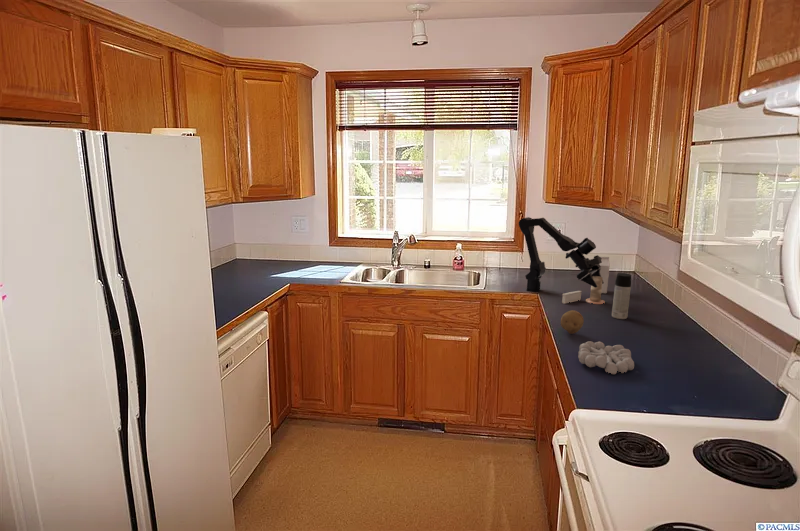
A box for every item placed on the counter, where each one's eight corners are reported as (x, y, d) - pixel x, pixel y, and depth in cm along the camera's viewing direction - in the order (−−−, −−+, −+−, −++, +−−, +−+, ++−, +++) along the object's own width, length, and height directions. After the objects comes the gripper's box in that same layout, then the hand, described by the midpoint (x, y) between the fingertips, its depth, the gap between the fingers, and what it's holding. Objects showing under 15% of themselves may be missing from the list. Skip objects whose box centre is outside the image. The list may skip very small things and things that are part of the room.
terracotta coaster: (586, 303, 264) (586, 302, 264) (585, 298, 272) (585, 297, 272) (605, 305, 261) (605, 303, 261) (604, 300, 270) (604, 299, 270)
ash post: (592, 302, 264) (594, 278, 262) (588, 299, 269) (590, 276, 267) (602, 302, 264) (604, 278, 262) (598, 299, 269) (600, 276, 267)
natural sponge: (576, 339, 213) (578, 315, 211) (555, 334, 219) (557, 310, 217) (585, 334, 220) (588, 310, 218) (565, 328, 226) (567, 306, 224)
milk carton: (606, 293, 283) (610, 258, 278) (592, 292, 284) (596, 257, 280) (604, 290, 289) (608, 255, 285) (590, 289, 291) (594, 255, 287)
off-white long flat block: (564, 303, 263) (565, 294, 262) (561, 302, 264) (562, 293, 263) (580, 300, 269) (581, 291, 268) (577, 299, 271) (578, 290, 270)
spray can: (627, 316, 244) (632, 273, 240) (626, 320, 238) (631, 276, 234) (612, 314, 247) (616, 272, 243) (611, 318, 241) (615, 275, 237)
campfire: (561, 353, 199) (563, 338, 197) (611, 350, 203) (613, 335, 202) (595, 379, 178) (597, 363, 176) (650, 374, 182) (652, 358, 181)
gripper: (585, 253, 257) (606, 279, 252) (598, 248, 271) (618, 272, 266) (568, 266, 263) (588, 292, 259) (582, 261, 277) (601, 285, 273)
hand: (599, 285), depth 264 cm, fingers open, 9 cm apart
